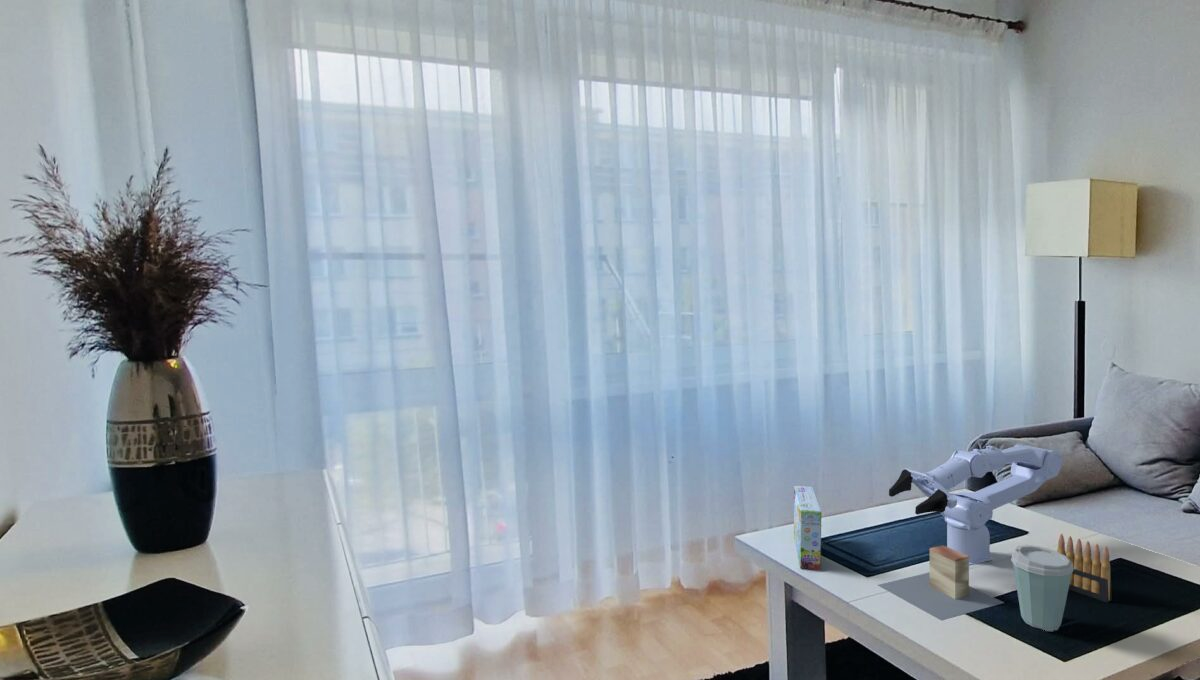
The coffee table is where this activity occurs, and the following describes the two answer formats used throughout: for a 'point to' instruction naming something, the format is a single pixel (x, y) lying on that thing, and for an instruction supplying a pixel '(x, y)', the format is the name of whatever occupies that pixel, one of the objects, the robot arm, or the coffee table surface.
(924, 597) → the rubber mat
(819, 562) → the snack box
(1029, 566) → the disposable coffee cup
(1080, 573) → the ammunition clip
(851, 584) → the coffee table surface
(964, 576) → the beech block
